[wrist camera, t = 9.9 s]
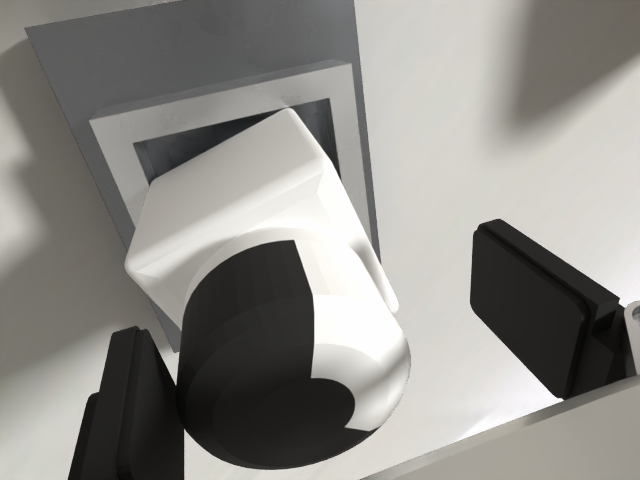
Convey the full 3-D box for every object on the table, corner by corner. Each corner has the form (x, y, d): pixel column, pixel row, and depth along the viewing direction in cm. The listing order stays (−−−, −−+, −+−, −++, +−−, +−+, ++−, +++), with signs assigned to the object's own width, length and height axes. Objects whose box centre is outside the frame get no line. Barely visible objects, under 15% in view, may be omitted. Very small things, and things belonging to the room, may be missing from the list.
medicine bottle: (233, 289, 22) (249, 533, 12) (148, 180, 18) (68, 403, 8) (351, 226, 22) (471, 423, 12) (290, 102, 18) (389, 235, 8)
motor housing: (44, 27, 19) (-2, 28, 14) (330, -23, 22) (375, -38, 17) (174, 323, 28) (174, 386, 23) (365, 263, 31) (402, 308, 26)
